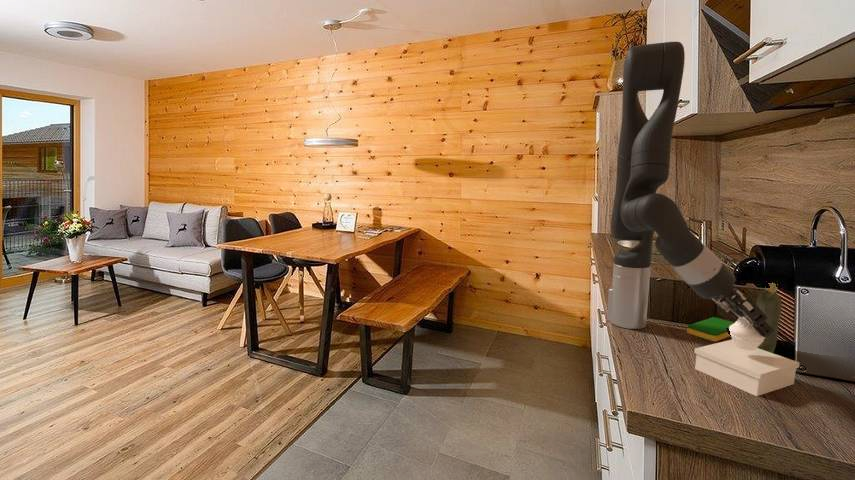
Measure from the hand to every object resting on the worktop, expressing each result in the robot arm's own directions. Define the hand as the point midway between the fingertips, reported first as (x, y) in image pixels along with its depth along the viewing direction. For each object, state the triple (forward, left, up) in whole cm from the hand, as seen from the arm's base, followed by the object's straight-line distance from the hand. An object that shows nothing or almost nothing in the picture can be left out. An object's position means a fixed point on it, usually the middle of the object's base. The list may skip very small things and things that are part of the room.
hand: (756, 327), depth 83 cm
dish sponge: (-16, +21, -11) cm, 29 cm away
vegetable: (-2, +11, -11) cm, 15 cm away
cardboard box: (-1, -1, -11) cm, 11 cm away
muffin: (-1, -1, -5) cm, 5 cm away
